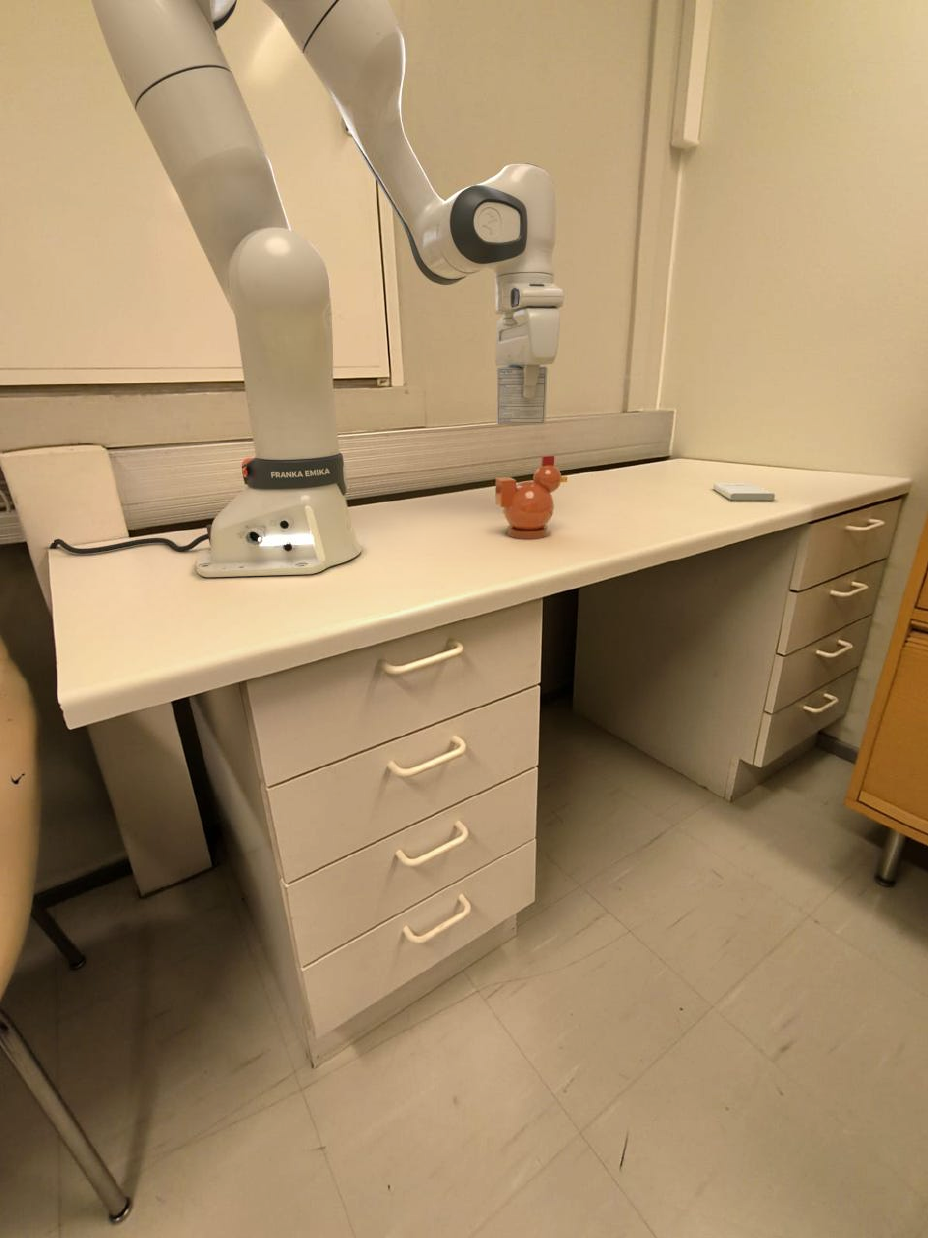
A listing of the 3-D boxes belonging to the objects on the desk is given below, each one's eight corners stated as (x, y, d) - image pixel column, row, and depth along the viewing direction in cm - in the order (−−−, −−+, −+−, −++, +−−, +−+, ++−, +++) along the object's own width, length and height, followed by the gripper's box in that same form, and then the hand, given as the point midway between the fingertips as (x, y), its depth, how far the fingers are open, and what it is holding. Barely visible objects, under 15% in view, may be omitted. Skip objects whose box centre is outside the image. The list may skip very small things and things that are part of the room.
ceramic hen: (505, 542, 87) (506, 461, 82) (491, 530, 94) (491, 455, 89) (573, 536, 89) (577, 457, 84) (554, 525, 96) (557, 451, 91)
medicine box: (544, 423, 94) (547, 366, 91) (545, 425, 90) (548, 365, 87) (497, 423, 95) (498, 367, 92) (496, 425, 91) (496, 366, 88)
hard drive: (729, 501, 111) (712, 489, 122) (773, 501, 110) (752, 489, 121) (731, 493, 110) (713, 482, 122) (775, 493, 109) (754, 482, 120)
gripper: (485, 307, 94) (486, 396, 100) (525, 289, 76) (522, 399, 81) (521, 308, 96) (519, 395, 101) (569, 290, 77) (563, 398, 83)
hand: (521, 397), depth 91 cm, fingers closed on medicine box, 5 cm apart
